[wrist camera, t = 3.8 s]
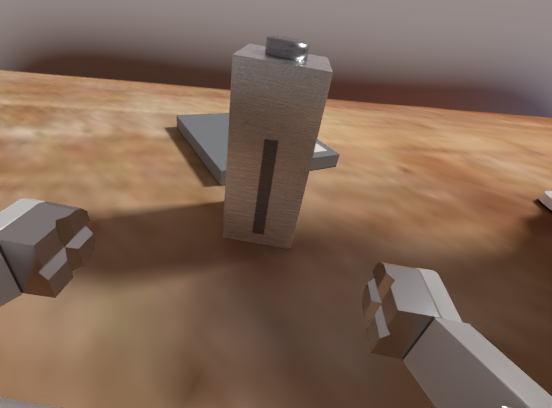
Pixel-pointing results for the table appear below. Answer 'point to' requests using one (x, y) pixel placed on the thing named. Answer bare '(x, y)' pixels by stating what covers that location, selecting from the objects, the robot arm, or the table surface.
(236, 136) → the aluminium block
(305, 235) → the table surface
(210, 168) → the dock board
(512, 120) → the table surface
